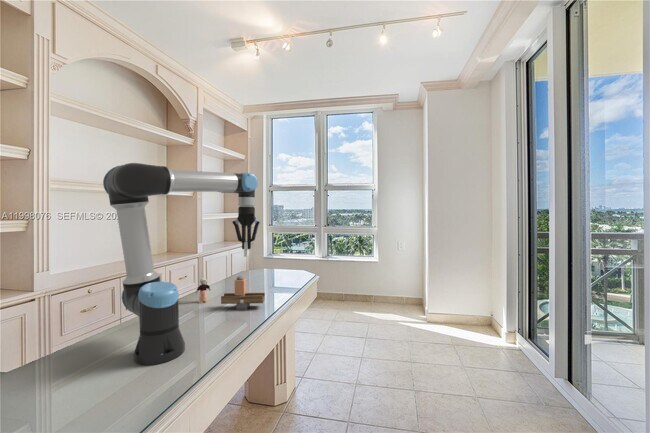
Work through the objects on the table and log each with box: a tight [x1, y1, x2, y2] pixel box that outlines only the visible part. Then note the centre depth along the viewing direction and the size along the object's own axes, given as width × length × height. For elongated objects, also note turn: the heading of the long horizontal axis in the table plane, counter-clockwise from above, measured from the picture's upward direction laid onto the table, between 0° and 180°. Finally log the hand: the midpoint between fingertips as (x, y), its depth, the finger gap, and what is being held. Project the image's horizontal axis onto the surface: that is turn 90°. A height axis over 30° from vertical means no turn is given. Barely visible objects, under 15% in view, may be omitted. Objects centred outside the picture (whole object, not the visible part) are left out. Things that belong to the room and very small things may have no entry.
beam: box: [220, 292, 266, 311], centre depth 149 cm, size 7×20×7 cm, turn 92°
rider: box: [234, 276, 247, 296], centre depth 149 cm, size 4×4×10 cm
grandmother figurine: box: [195, 277, 212, 304], centre depth 159 cm, size 8×4×13 cm, turn 143°
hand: (246, 256), depth 144 cm, fingers closed
